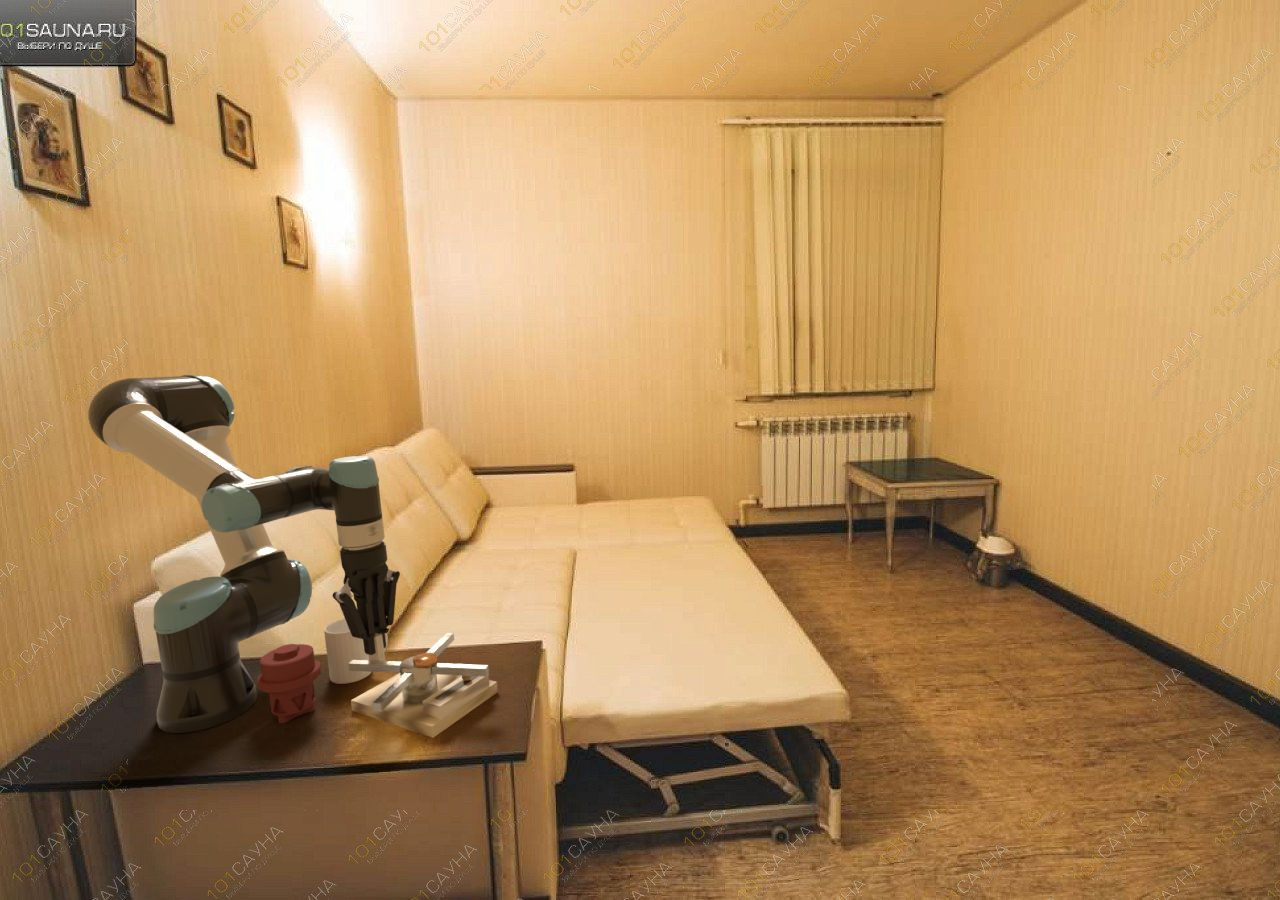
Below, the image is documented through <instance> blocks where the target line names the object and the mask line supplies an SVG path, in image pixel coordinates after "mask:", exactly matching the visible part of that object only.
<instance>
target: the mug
mask: <svg viewBox="0 0 1280 900" xmlns="http://www.w3.org/2000/svg"><path fill="white" fill-rule="evenodd" d="M323 632H324V641H325V650H326V657H327V665H328V673H329V680H330V681H331V682H332V683H334V684H337V685H338V684H341V685H342V684H345V685H346V684H352V683H355V682H356V683H357V682H359V681H361V680H364V679H365V678H367V677H368V676H370V675H371V674H372V672H368V671H349V663H350V662H351V661H352V660H369V657H368V654H366V653H365V651H364V643H363V639H360V638H356V637H352V635H351V632H350V630H349V627H348V625H347V622H346V620H345V618H341V619H337V620H335V621H332V622H331V623H328V624H327V625H326V626H325V627H324V629H323ZM385 638H386V639H385V640H386V648H384V652H385V651H386V650H387V647H388V642H389V638H388V633H385Z"/></svg>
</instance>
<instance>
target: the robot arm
mask: <svg viewBox="0 0 1280 900" xmlns="http://www.w3.org/2000/svg"><path fill="white" fill-rule="evenodd" d="M233 410H235V404H234V401H233V399H232V396H231V394H230V393H229V391H228V389H226V387H225V386H224V385H223V384H222V383H221V382H220V381H218V380H217V379H215V378H212V377H210V376H206V375H194V374H185V375H177V376H160V377H159V376H157V377H156V376H155V377H131V378H124V379H119V380H116V381H114V382H110V383H108V384H107V385H105V386H104V387H103V388H101V389H100V390H99V391H98V392H97V393H96V394H95V395H94V396H93V399H92V400H91V402H90V404H89V407H88V412H87V414H88V421H89V426H90V429H91V430H92V432H93V434H94V435H95V436H96V438H98V439H99V441H101V442H102V443H104V444H105V445H107V446H108V447H109V448H111V449H112V450H114V451H117V452H121V453H128V454H131V455H132V456H134V457H136V458H137V459H139V461H141V462H142V463H144V464H146V465H147V466H149V467H150V468H152V469H153V470H155V471H156V472H158V473H159V474H160V475H162V476H163V477H165V478H167V479H168V480H169V481H171V482H172V483H174V484H176V485H177V486H179V487H180V488H181V489H183V490H185V491H186V492H187V493H189V494H190V495H192V496H193V497H195V498H196V500H197V503H198V505H199V507H200V510H201V512H202V515H203V517H204V520H205V521H206V523H207V526H208V528H209V530H210V533H211V535H212V537H213V539H214V541H215V544H216V545H217V549H218V551H219V553H220V555H221V557H222V560H223V562H224V566H223V568H222V571H221V573H220V574H219V576H207V577H203V578H201V579H194V580H191V581H187V582H184V583H182V584H180V585H177V586H176V587H173V588H171V589H169V590H168V591H166V592H164V593H163V594H162V595H161V596H159V597H158V599H157V601H156V602H155V604H154V605H153V631H155V635H156V641H157V648H158V655H159V660H160V666H161V671H162V678H163V682H162V687H161V692H160V695H159V696H160V697H159V700H158V704H157V709H156V721H157V726H158V728H159V729H160V730H162V731H163V732H165V733H172V734H181V733H182V734H183V733H185V734H186V733H193V732H196V731H197V732H198V731H202V730H205V729H209V728H212V727H215V726H219V725H221V724H223V723H226V722H228V721H231V720H232V719H235V718H237V717H238V716H240V715H242V714H244V713H245V712H246V711H248V710H249V709H250V708H251V707H252V706H253V705H254V704H255V703H256V701H257V696H258V695H257V689H256V685H255V682H254V680H253V679H252V677H251V675H250V674H249V672H248V670H247V668H246V667H245V665H244V663H243V662H242V660H241V655H240V647H239V643H240V642H243V641H244V640H247V639H249V638H251V637H254V636H256V635H258V634H261V633H263V632H265V631H268V630H271V629H273V628H275V627H277V626H282V625H284V624H287V623H288V622H290V621H291V620H293V619H295V618H296V617H299V616H301V615H302V614H303V613H305V611H306V610H307V609H308V607H309V605H310V602H311V599H312V596H313V595H312V594H313V584H312V579H311V575H310V573H309V570H308V569H307V567H306V566H305V565H304V564H303V563H301V561H300V560H297V559H291V558H289V559H288V557H287V555H286V552H285V550H284V549H283V548H282V549H281V548H279V547H275V545H273V544H272V542H271V540H270V537H269V534H268V533H267V530H266V527H265V524H266V523H270V522H274V521H278V520H281V519H284V518H285V519H286V518H290V517H293V516H297V515H300V514H303V513H308V512H311V511H317V510H325V511H334V514H335V515H334V516H335V524H336V532H337V539H338V540H337V541H338V545H339V546H340V547H341V548H340V549H339V553H340V554H339V555H340V560H341V561H340V562H341V568H342V570H343V572H344V577H343V586H342V587H341V588H340V590H339V591H334V592H333V593H332V595H331V596H332V598H333V599H334V600H335V602H337V603H338V604H339V607H340V610H341V613H342V615H343V616H344V619H345V620H346V622H347V625H348V627H349V630H350V632H351V635H352V637H356V638H360V639H363V643H364V651H365V653H366V654H368V657H369V660H371V661H386V655H385V651H384V648H386V649H387V647H386V640H385V639H386V638H385V633H387V634H388V633H389V631H390V628H388V627H389V626H393V624H394V620H395V610H396V609H395V607H396V606H395V605H396V597H397V596H396V594H397V584H398V581H399V579H400V575H401V572H400V571H398V570H392V569H389V565H388V564H387V561H388V553H387V552H388V551H387V545H386V542H385V541H384V539H385V536H386V535H385V528H384V520H383V510H382V502H381V495H380V485H379V483H380V478H379V476H378V470H377V466H376V461H375V459H374V458H372V457H371V456H367V455H359V456H358V455H356V456H355V455H354V456H353V455H351V456H344V457H338V458H335V459H333V460H331V461H330V462H329V465H328V467H318V466H317V467H316V466H312V465H305V466H296V467H291V468H289V469H288V470H287V471H285V472H283V473H279V474H273V475H268V476H263V477H257V478H256V477H253V476H252V475H250V474H249V473H247V472H245V471H244V470H242V469H241V468H239V467H238V465H237V463H236V462H237V461H236V460H235V458H234V455H233V454H232V451H231V449H230V446H229V444H228V441H227V439H228V437H229V436H230V434H231V431H232V430H231V427H230V426H231V425H232V424H233V422H234V419H235V416H236V415H235V412H234V411H233ZM352 598H353V599H352ZM355 602H356V603H355Z"/></svg>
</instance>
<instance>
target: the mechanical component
mask: <svg viewBox="0 0 1280 900" xmlns="http://www.w3.org/2000/svg"><path fill="white" fill-rule="evenodd" d="M259 664H260V673H259V674H258V675H257V677H256V684H257V689H259V690H260V691H261V692H263V693H268V697H269V705H270V712H271V714H273V715H275V716H277V718H278V722H279V724H286V723H288V722H289V721H291V720H293V719H295V718H296V717H299V716H302V715H304V714H307V713H308V714H309V713H311V712H314V710H315V709H316V703H315V702H316V697H315V696H316V695H315V687H314V685H315V684H314V681H315V680H316V679H317V678H319V676H320V675H321V673H322V667H321V662H320V661H319V660H317V659H315V652H314V647H313V646H312V645H310V644H303V643H302V644H301V643H300V644H299V643H289V644H284V645H282V646H281V645H280V646H278V647H277V648H275V649H272V650H271V651H268V652H267V653H266V654H264V655H263V656H261V658H260V660H259Z"/></svg>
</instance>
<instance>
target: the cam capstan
mask: <svg viewBox="0 0 1280 900" xmlns="http://www.w3.org/2000/svg"><path fill="white" fill-rule="evenodd" d="M454 641H455V634H454V632H447V633H445V634H444V635H443V636H442V637H441V638H440V639H439V640H438V641H436V643H434V644H433V646H431V647H430V648H429V649H428V650H427V651H426V652H423V653H420V654H417V655H414V656H410V657H407V658H405V659H404V660H402V661H394V660H391V661H390V660H385V661H371V660H352V661H351V662H350V663H349V671H368V672H371V673H372V672H373V673H395V674H396V673H397V674H399V673H400V676H401V677H400V678H399V679H398V680H396V681H395V682H394V683H393V684H392V685H391V686H390V687H389V688H388V689H387V690H386V691H385V692H384V693H383V694H382V695H380V696H379V697H378V698H377V699H376V700H375V701H374V702H373V711H379V712H382V711H383V710H384V709H385V708H386V707H387V706H388V705H389V704H390V703H391V702H392V701H393V700H394V699H395V698H396V697H397V696H398V695H399V694H400V693H401V692H402V696H403V700H404V701H405V702H408V703H420V702H423V701H424V700H425V699H427V698H428V697H430V696H432V695H433V694H435V693H436V692H438V686H437V675H436V674H438V675H462V676H485V677H486V676H487V674H489V673H490V669H489V668H490V667H489V665H488V664H471V663H470V664H468V663H467V664H466V663H448V662H446V663H444V662H442V663H441V662H438V657H439V656H440V655H441V654H442V653H443V652H444V651H445V650H446V649H447V648H448V647H449V646H450V645H451V644H452V643H453V642H454Z"/></svg>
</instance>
